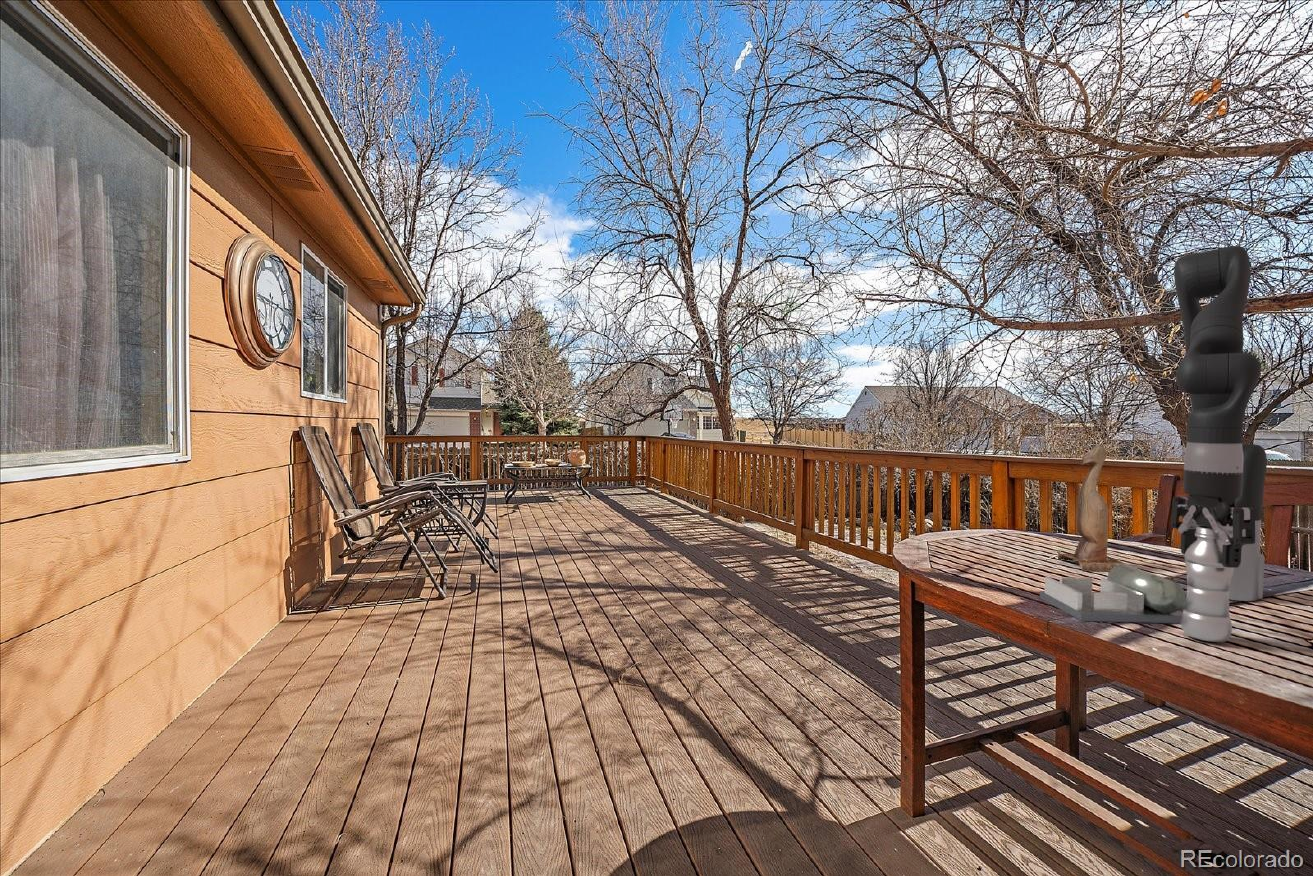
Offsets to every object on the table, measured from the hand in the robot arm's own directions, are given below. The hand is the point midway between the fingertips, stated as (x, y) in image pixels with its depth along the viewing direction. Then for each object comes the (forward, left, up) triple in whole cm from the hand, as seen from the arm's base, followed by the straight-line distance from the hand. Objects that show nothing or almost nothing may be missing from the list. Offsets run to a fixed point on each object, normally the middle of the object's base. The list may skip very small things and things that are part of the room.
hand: (1208, 560), depth 104 cm
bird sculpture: (-12, -50, -14) cm, 53 cm away
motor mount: (+6, -15, -14) cm, 21 cm away
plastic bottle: (0, 0, -14) cm, 14 cm away
